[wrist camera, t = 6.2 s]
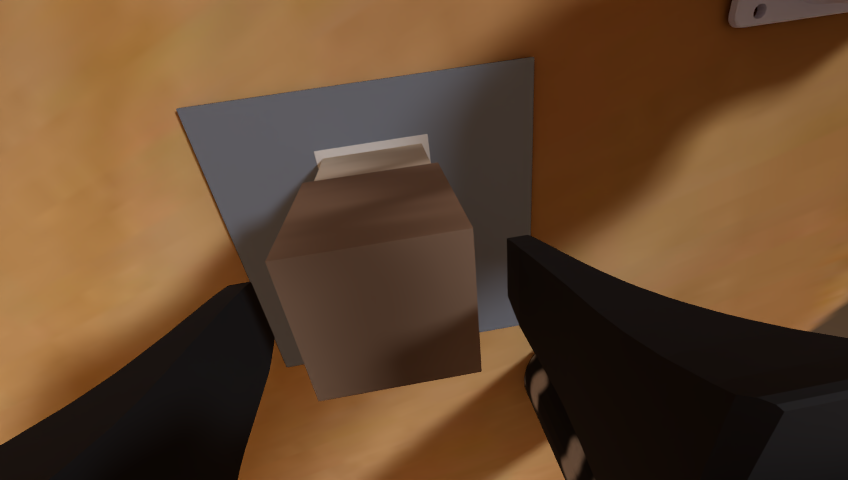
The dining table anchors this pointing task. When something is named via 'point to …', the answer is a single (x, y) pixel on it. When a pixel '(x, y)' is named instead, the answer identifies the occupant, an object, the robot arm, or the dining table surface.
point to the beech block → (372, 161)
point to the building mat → (368, 131)
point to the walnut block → (379, 281)
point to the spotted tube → (556, 423)
